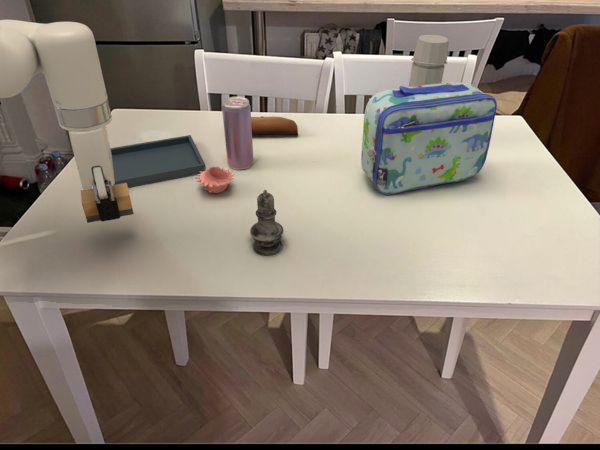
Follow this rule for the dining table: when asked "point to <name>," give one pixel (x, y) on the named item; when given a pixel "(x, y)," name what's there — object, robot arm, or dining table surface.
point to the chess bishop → (266, 227)
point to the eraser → (120, 194)
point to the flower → (215, 179)
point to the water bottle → (429, 60)
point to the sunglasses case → (273, 125)
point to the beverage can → (238, 132)
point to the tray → (156, 161)
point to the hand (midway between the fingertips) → (109, 210)
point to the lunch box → (426, 135)
